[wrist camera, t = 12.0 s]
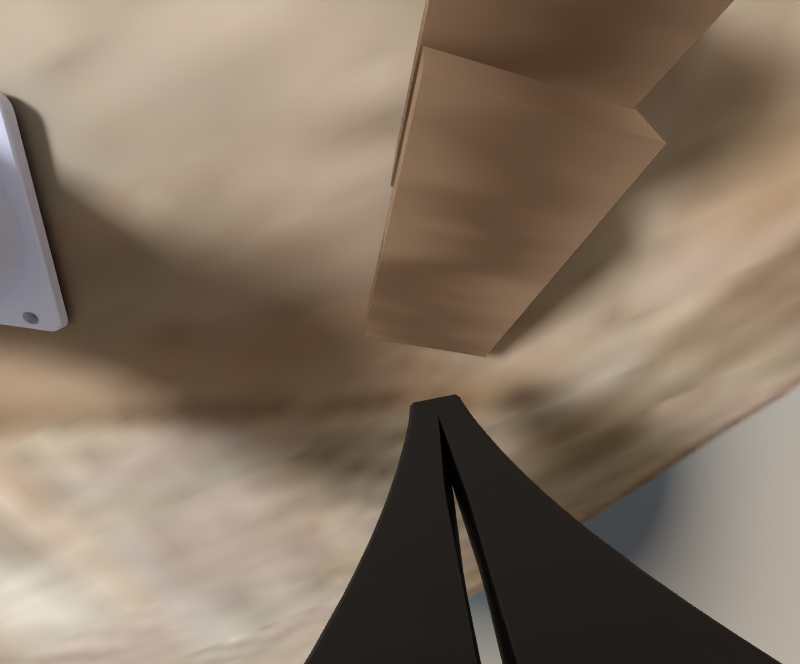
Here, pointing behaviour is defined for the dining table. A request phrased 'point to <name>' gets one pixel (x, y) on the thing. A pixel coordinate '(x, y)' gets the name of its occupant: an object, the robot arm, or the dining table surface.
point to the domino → (567, 42)
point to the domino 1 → (493, 199)
